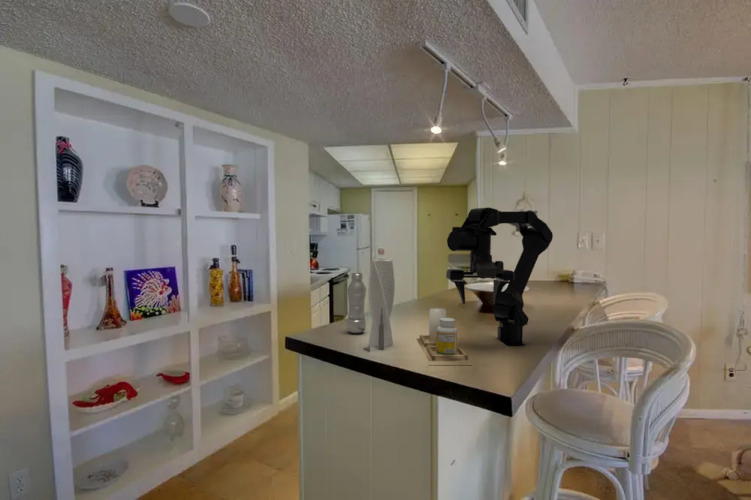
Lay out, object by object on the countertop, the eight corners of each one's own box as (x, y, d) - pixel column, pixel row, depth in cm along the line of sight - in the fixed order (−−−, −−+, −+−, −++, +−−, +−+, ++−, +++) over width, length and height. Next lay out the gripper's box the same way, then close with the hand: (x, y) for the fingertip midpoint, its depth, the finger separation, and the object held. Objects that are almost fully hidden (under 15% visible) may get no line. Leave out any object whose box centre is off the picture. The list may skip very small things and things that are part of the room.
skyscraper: (359, 348, 114) (361, 251, 113) (378, 343, 120) (380, 251, 119) (381, 354, 108) (383, 252, 108) (400, 349, 114) (401, 252, 113)
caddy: (451, 342, 122) (451, 334, 122) (472, 365, 100) (472, 356, 100) (416, 342, 122) (416, 334, 122) (428, 365, 100) (429, 356, 100)
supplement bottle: (450, 359, 101) (451, 322, 101) (432, 355, 105) (433, 319, 104) (460, 355, 105) (461, 319, 105) (442, 351, 109) (443, 316, 109)
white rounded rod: (443, 340, 120) (444, 307, 119) (447, 345, 115) (447, 310, 114) (427, 340, 119) (428, 307, 119) (430, 345, 114) (431, 310, 114)
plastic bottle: (344, 334, 130) (345, 274, 130) (349, 330, 137) (349, 272, 136) (363, 335, 129) (364, 274, 128) (367, 331, 136) (368, 272, 135)
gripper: (455, 251, 107) (454, 309, 108) (523, 252, 108) (521, 309, 108) (446, 250, 118) (445, 302, 119) (507, 251, 119) (506, 302, 120)
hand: (479, 304), depth 116 cm, fingers open, 9 cm apart
